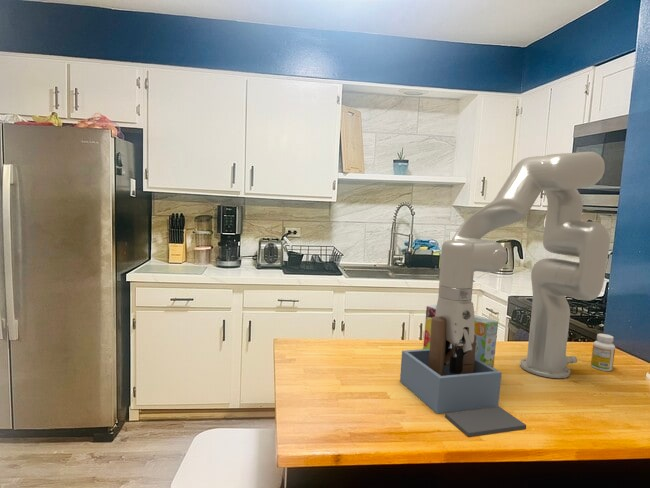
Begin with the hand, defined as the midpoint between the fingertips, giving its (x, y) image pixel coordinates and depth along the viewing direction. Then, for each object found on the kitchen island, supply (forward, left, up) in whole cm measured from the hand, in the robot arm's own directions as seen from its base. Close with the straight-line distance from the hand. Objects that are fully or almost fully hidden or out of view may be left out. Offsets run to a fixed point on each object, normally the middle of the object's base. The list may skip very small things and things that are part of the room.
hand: (449, 367), depth 103 cm
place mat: (0, +14, -6) cm, 15 cm away
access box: (0, 0, -6) cm, 6 cm away
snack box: (-14, -16, -7) cm, 22 cm away
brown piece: (0, 0, -6) cm, 6 cm away
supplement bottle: (-56, -5, -6) cm, 56 cm away
